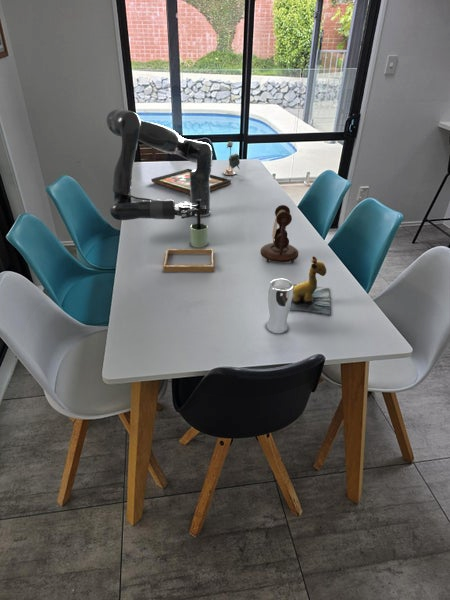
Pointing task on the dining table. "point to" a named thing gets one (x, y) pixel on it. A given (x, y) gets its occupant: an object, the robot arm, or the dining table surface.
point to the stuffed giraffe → (312, 292)
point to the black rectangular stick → (198, 216)
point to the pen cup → (199, 235)
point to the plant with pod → (232, 161)
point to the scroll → (280, 239)
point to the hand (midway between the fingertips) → (206, 209)
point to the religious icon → (187, 181)
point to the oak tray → (188, 267)
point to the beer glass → (279, 304)
